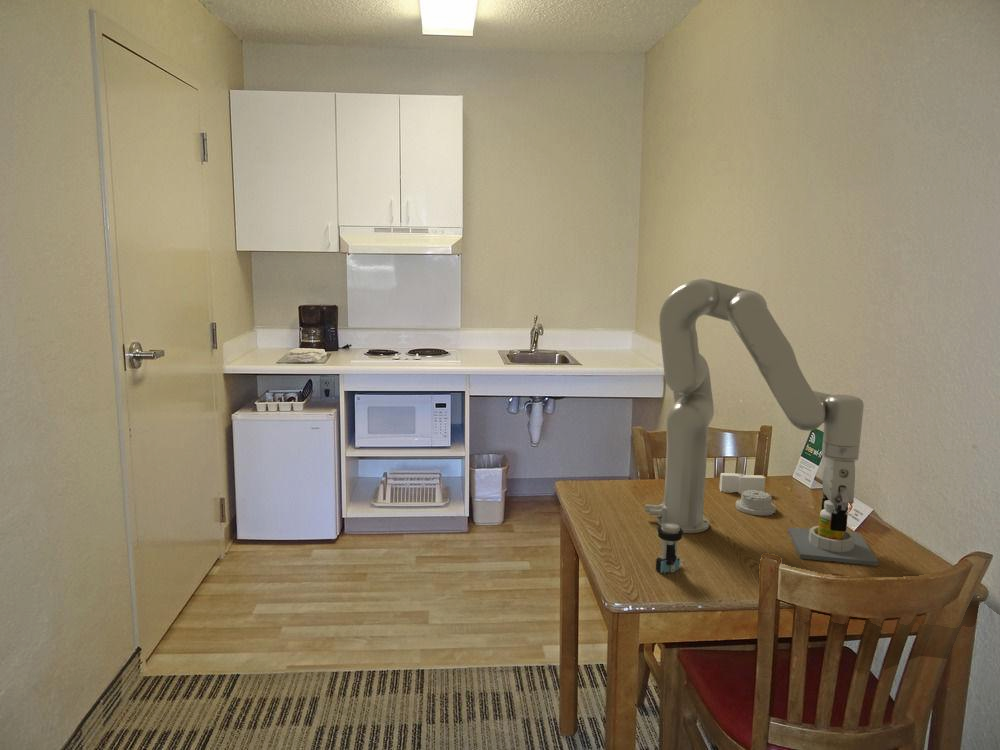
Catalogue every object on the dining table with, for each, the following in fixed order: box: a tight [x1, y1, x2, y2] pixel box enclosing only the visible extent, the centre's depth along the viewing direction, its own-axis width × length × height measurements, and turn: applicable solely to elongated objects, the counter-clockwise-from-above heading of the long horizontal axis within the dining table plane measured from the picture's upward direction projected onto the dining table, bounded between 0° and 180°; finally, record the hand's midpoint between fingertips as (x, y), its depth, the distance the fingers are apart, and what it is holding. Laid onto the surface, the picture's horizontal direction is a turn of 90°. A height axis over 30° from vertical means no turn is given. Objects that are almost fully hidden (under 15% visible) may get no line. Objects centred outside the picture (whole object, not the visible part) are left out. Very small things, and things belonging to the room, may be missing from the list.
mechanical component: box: [735, 490, 777, 516], centre depth 190 cm, size 10×4×10 cm
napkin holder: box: [718, 472, 766, 495], centre depth 203 cm, size 15×11×6 cm
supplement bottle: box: [818, 500, 844, 540], centre depth 165 cm, size 5×5×10 cm
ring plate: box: [787, 525, 879, 567], centre depth 166 cm, size 16×16×4 cm
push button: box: [655, 522, 684, 574], centre depth 153 cm, size 7×5×10 cm
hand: (833, 522), depth 165 cm, fingers open, 9 cm apart
